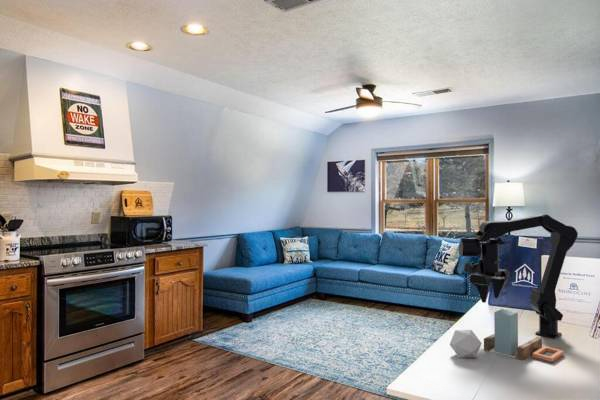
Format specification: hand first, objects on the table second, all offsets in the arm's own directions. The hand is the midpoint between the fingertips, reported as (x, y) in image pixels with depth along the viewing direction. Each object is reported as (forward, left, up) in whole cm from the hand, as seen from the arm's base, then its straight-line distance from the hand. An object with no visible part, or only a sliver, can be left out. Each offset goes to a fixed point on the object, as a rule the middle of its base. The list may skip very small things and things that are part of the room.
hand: (490, 300), depth 152 cm
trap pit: (+8, +22, -12) cm, 26 cm away
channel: (+9, +12, -12) cm, 19 cm away
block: (+14, +12, -12) cm, 22 cm away
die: (+26, +5, -12) cm, 29 cm away
